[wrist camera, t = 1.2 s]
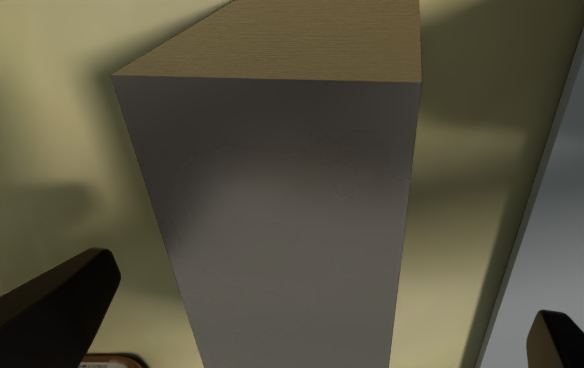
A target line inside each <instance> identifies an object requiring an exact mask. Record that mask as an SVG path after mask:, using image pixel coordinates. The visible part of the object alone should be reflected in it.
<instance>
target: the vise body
mask: <svg viewBox="0 0 584 368" xmlns="http://www.w3.org/2000/svg"><path fill="white" fill-rule="evenodd" d="M543 309H544V310H551V311H558V312H563V313H565V314H567V315H568V316H569V317H570V318H571V319H572V320H573V321H574V322H575V323H576V324H577V325H578V327H579V328H580V329H581V330H582V331H583V332H584V27H583V30H582V33H581V36H580V39H579V42H578V46H577V49H576V52H575V55H574V58H573V61H572V64H571V67H570V71H569V74H568V77H567V80H566V83H565V86H564V89H563V92H562V96H561V99H560V102H559V105H558V108H557V111H556V114H555V118H554V121H553V124H552V127H551V130H550V133H549V136H548V139H547V143H546V146H545V149H544V152H543V155H542V158H541V161H540V164H539V168H538V171H537V174H536V177H535V180H534V183H533V186H532V190H531V193H530V196H529V199H528V202H527V205H526V208H525V211H524V215H523V218H522V221H521V224H520V227H519V230H518V233H517V236H516V240H515V243H514V246H513V249H512V252H511V255H510V258H509V262H508V265H507V268H506V271H505V274H504V277H503V280H502V283H501V287H500V290H499V293H498V296H497V299H496V302H495V305H494V308H493V312H492V315H491V318H490V321H489V324H488V327H487V330H486V334H485V337H484V340H483V343H482V346H481V349H480V352H479V355H478V359H477V362H476V365H475V368H528V360H527V351H526V340H527V336H528V333H529V331H530V329H531V326H532V324H533V321H534V319H535V316H536V314H537V312H538V311H539V310H543Z"/></svg>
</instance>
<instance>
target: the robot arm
mask: <svg viewBox="0 0 584 368" xmlns="http://www.w3.org/2000/svg"><path fill="white" fill-rule="evenodd" d="M120 280H121V273H120V271H119V268H118V266H117V264H116V261H115V259H114V256H113V254H112V252H111V251H110V250H108V249H104V248H96V247H94V248H90V249H88V250H86V251H84V252H82V253H80V254H78V255H77V256H75V257H73V258H71V259H69V260H67V261H65V262H64V263H62V264H60V265H58V266H56V267H54V268H53V269H51V270H49V271H47V272H45V273H43V274H41V275H40V276H38V277H36V278H34V279H32V280H30V281H28V282H27V283H25V284H23V285H21V286H19V287H17V288H16V289H14V290H12V291H10V292H8V293H6V294H4V295H3V296H1V297H0V368H78V367H79V365H80V363H81V362H82V360H83V358H84V356H85V355H86V353H87V351H88V349H89V348H90V346H91V344H92V342H93V340H94V338H95V336H96V334H97V332H98V330H99V327H100V325H101V323H102V321H103V319H104V317H105V314H106V312H107V310H108V308H109V306H110V304H111V301H112V299H113V297H114V295H115V293H116V291H117V288H118V286H119V284H120ZM526 351H527V360H528V368H584V332H583V331H582V330H581V329H580V328H579V327H578V325H577V324H576V323H575V322H574V321H573V320H572V319H571V318H570V317H569V316H568V315H567V314H565V313H563V312H558V311H551V310H544V309H543V310H539V311H538V312H537V314H536V316H535V319H534V321H533V324H532V326H531V329H530V331H529V333H528V336H527V340H526Z"/></svg>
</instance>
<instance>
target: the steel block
mask: <svg viewBox="0 0 584 368" xmlns="http://www.w3.org/2000/svg"><path fill="white" fill-rule="evenodd" d="M111 78H112V81H113V84H114V88H115V91H116V94H117V97H118V100H119V103H120V106H121V109H122V112H123V116H124V119H125V122H126V125H127V128H128V131H129V134H130V137H131V141H132V144H133V147H134V150H135V153H136V156H137V159H138V162H139V166H140V169H141V172H142V175H143V178H144V181H145V184H146V187H147V191H148V194H149V197H150V200H151V203H152V206H153V209H154V212H155V216H156V219H157V222H158V225H159V228H160V231H161V234H162V237H163V240H164V244H165V247H166V250H167V253H168V256H169V259H170V262H171V265H172V269H173V272H174V275H175V278H176V281H177V284H178V287H179V290H180V294H181V297H182V300H183V303H184V306H185V309H186V312H187V315H188V319H189V322H190V325H191V328H192V331H193V334H194V337H195V340H196V344H197V347H198V350H199V353H200V356H201V359H202V362H203V365H204V368H389V361H390V353H391V344H392V335H393V327H394V318H395V310H396V301H397V292H398V284H399V275H400V266H401V258H402V249H403V240H404V232H405V223H406V215H407V206H408V197H409V189H410V180H411V171H412V163H413V154H414V145H415V137H416V128H417V120H418V111H419V102H420V94H421V85H422V73H421V42H420V10H419V0H235V1H233V2H231V3H230V4H228V5H226V6H225V7H223V8H221V9H220V10H218V11H216V12H215V13H213V14H211V15H210V16H208V17H206V18H205V19H203V20H201V21H200V22H198V23H196V24H195V25H193V26H191V27H190V28H188V29H186V30H185V31H183V32H181V33H180V34H178V35H176V36H175V37H173V38H171V39H170V40H168V41H166V42H165V43H163V44H161V45H160V46H158V47H156V48H155V49H153V50H151V51H150V52H148V53H146V54H145V55H143V56H141V57H140V58H138V59H136V60H135V61H133V62H131V63H130V64H128V65H126V66H125V67H123V68H121V69H120V70H118V71H116V72H115V73H113V74H111Z"/></svg>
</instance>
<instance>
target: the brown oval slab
mask: <svg viewBox="0 0 584 368" xmlns="http://www.w3.org/2000/svg"><path fill="white" fill-rule="evenodd" d="M78 368H143V367H142V366H141V365H140V364H139V363H137V362H136V361H134V360H133V359H130V358H128V357H123V356H84V358H83V360H82V362H81V363H80V365H79V367H78Z"/></svg>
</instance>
